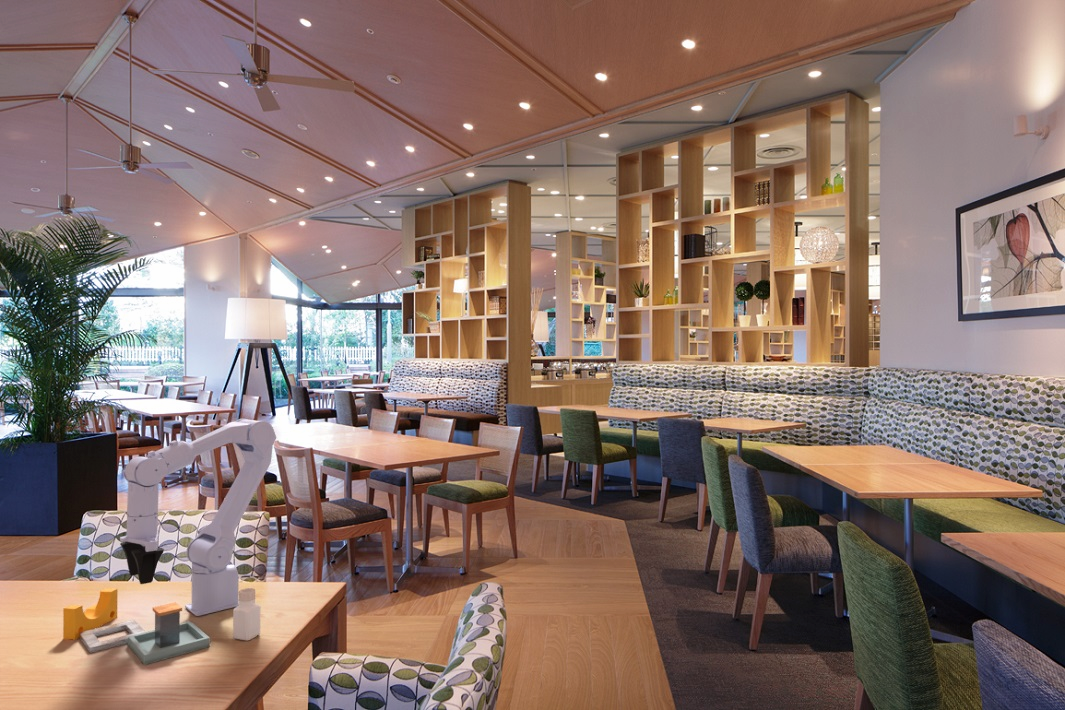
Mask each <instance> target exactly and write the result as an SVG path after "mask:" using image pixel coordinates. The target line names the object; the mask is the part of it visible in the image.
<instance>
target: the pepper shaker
mask: <svg viewBox="0 0 1065 710" xmlns="http://www.w3.org/2000/svg"><path fill="white" fill-rule="evenodd" d="M238 603H239V606H237V607H234V608H233V610H232V611H233V612H232V617H233V618H232V619H233V620H232V628H233V630H232V632H233V633H232V636H233V637H232V638H234V639H235V640H241V641H250V640H252V639H254V638H256V637H257V635H258V636H259V635H260V634H261V606H260V605H259V604H257V603H256V589H255V588H252V587H251V588H250V587H246V588H243V589H240V590H238Z"/></svg>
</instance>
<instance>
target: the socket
mask: <svg viewBox="0 0 1065 710" xmlns="http://www.w3.org/2000/svg"><path fill="white" fill-rule="evenodd" d="M125 630H126V631H127V632H128V634H125V635H121V636H118V637H114V638H111V639H110V638H109V639H105V640H99V639H98V637H101V636H105V635H110V634H114V633H117V632H121V631H125ZM144 632H147V631H146V630H145V629H144V628H143V627H142V626H141V625H140V624H139V623H138V622H137V621H136V620H135V619H132V620H127V621H123V622H117V623H114V624H110V625H105V626H100V627H98V628H96V629H92V630H88V631H84V632H79V638H78V639H80V641H81V642H82V644H83V645H84V646H85V648H86V649H87V651H88V652H89V654H91V653H95V652H99V651H104V650H108V649H110V648H111V649H113V648H114V647H119V646H123V645H126V644H127V645H128V636H132V635H136V634H140V633H144Z"/></svg>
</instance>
